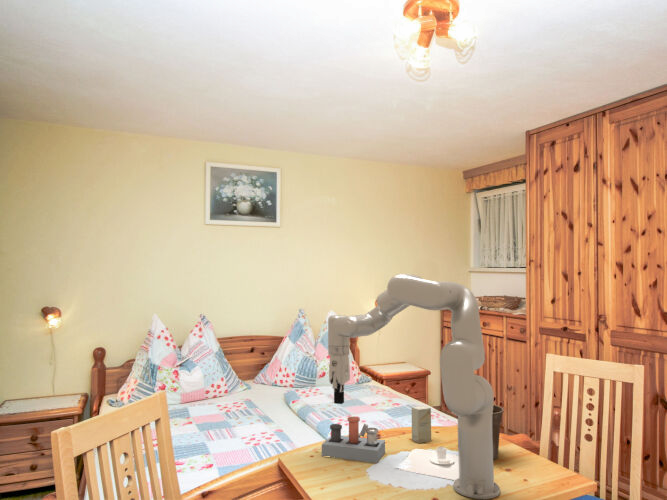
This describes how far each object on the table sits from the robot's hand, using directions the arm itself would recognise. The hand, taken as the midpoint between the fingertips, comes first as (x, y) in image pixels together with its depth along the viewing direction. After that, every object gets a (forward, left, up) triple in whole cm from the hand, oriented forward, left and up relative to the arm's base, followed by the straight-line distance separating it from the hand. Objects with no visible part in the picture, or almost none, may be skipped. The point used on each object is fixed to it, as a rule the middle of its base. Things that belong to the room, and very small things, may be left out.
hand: (339, 403), depth 162 cm
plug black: (0, +1, -16) cm, 16 cm away
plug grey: (0, -12, -16) cm, 20 cm away
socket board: (0, -5, -17) cm, 18 cm away
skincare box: (+22, -25, -17) cm, 38 cm away
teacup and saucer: (0, -33, -17) cm, 37 cm away
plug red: (0, -5, -13) cm, 14 cm away
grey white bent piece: (+8, -5, -17) cm, 19 cm away
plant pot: (+13, -46, -17) cm, 51 cm away
